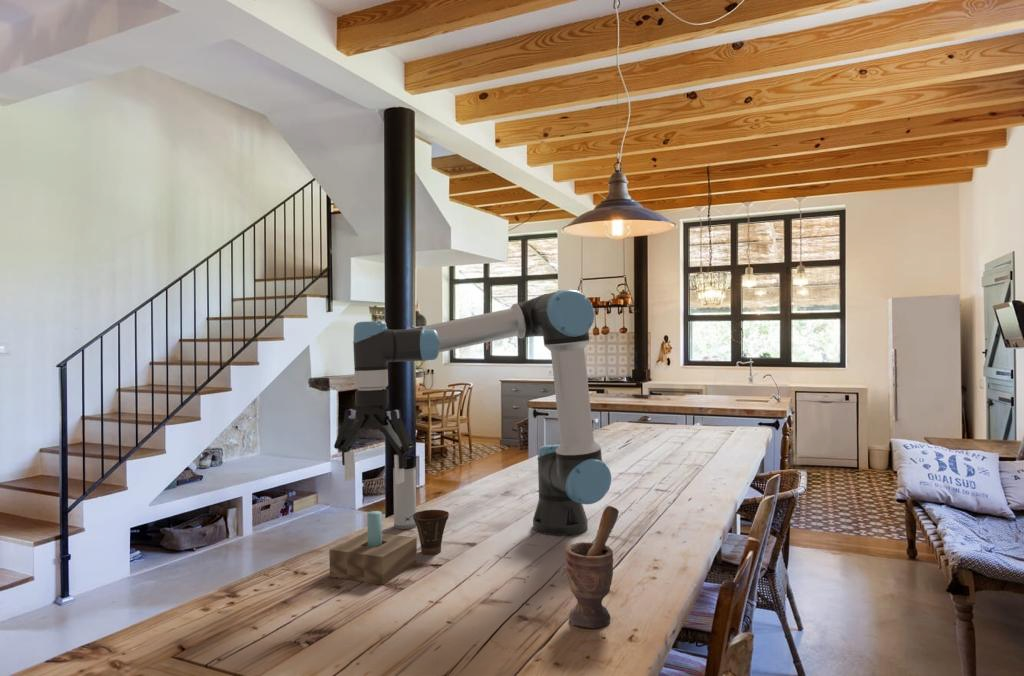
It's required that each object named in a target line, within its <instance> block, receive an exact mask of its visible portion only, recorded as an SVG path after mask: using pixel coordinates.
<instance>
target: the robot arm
mask: <svg viewBox="0 0 1024 676" xmlns="http://www.w3.org/2000/svg"><path fill="white" fill-rule="evenodd" d="M594 320H595V310H594V307H593V305H592V302H591V300H590V299H589V298H588V297H587V296H586V295H585V294H584V293H582V292H580V291H578V290H574V289H561V290H557V291H553V292H549V293H544V294H541V295H538V296H536V297H533V298H530V299H528V300H524V301H522V302H517V303H513V304H512V305H511V307H510V308H506V309H502V310H496V311H492V312H486V313H483V314H482V313H481V314H477V315H472V316H467V317H461V318H459V319H453V320H449V321H444V322H437V323H433V324H429V325H428V324H427V325H423V326H420V327H414V328H408V329H406V328H405V329H388V327H387V322H386V321H383V320H380V321H379V320H378V321H375V320H374V321H373V320H372V321H370V320H369V321H358V322H355V324H354V325H353V341H352V343H353V365H354V367H353V369H354V374H353V375H354V388H356V389H357V390H355V391H354V399H355V400H354V401H355V402H354V404H355V405H354V406H356V409H355V408H350V409H345V410H344V419H343V421H342V424H341V426H340V429H339V431H338V434H337V436H336V440H335V443H334V446H333V447H334V449H335V450H337V449H338V450H340V451H341V462H342V465H343V466H344V481H347V482H349V481H351V480H353V479H356V473H355V472H356V470H355V450H353V447H354V445H355V443H357V441H358V439H359V438H360V436H361V435H362V434H363V432H364V431H365V430H367V431H368V430H374V431H375V430H376V431H377V430H379V432H380V433H382V434H383V436H384V437H385V438H386V440H387V442H389V444H390V445H391V446H392V448H393V449H394V451H395V452H396V454H394V455H393V458H394V459H393V461H394V463H395V484H400V483H402V482H405V481H404V468H406V467H407V456H408V455H407V454H408V453H409V452H411V451H413V450H415V445H414V444H413V441H412V439H411V437H410V434H409V432H408V429H407V427H406V426H405V423H404V421H403V419H402V411H401V409H399V408H398V409H397V408H396V409H393V410H389V408H388V407H389V403H390V400H389V399H390V398H389V394H390V393H389V389H388V388H386V387H388V386H389V372H388V371H389V369H388V368H389V366H388V363H390V362H391V363H394V362H395V363H396V362H421V361H422V362H426V361H435V360H436V359H438V357H439V353H443V352H448V351H452V350H453V351H454V350H458V349H462V348H466V347H471V346H477V345H481V344H485V343H489V342H495V341H499V340H504V339H508V338H509V339H510V338H513V337H517V338H519V339H525V338H532V337H542V338H543V345H544V347H545V348H546V349H548V350H549V351H550V356H551V364H552V365H551V366H552V373H553V374H552V375H553V376H552V377H553V384H554V395H555V401H556V412H557V422H558V430H559V438H560V439H559V440H560V443H559V444H558V443H557V444H546V445H545V444H544V445H542V446H540V447H539V448H538V450H537V451H538V452H537V453H538V454H537V469H538V471H537V472H538V473H537V475H538V480H537V481H538V502H537V505H536V508H535V511H534V516H533V519H532V529H534V530H535V531H536V532H538V533H540V534H545V535H550V536H551V535H552V536H572V535H577V534H581V533H584V532H585V531H587V530H588V526H589V524H588V518H587V514H586V511H585V508H584V505H593V504H595V503H598V502H600V501H601V500H603V498H604V497H605V496H606V495H607V493H608V492H609V490H610V487H611V484H612V473H611V470H610V468H609V467H608V465H607V464H606V463H605V462H604V461H603V458H602V457H603V456H602V447H601V445H600V444H598V442H596V441H595V439H594V438H595V436H594V429H593V419H592V409H591V401H590V399H591V398H590V392H589V382H588V381H589V380H588V372H587V362H586V353H585V352H586V351H585V348H586V347H587V345H588V343H589V342H590V333H589V331H590V330H591V327H592V326H593V323H594ZM355 419H357V420H358V421H357V422H356V424H355V425H354V422H355ZM388 419H389V420H390V421H391V422H389V420H388ZM391 423H392V424H391ZM353 425H354V427H353ZM392 426H393V427H392ZM352 427H353V429H352ZM351 430H352V431H351Z"/></svg>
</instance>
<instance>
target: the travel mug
mask: <svg viewBox="0 0 1024 676" xmlns="http://www.w3.org/2000/svg"><path fill="white" fill-rule="evenodd" d="M417 456H418V455H415V454H413V455H407V467H406V468H404V481H405V482H402V483H400V484H395V463H394V460H393V463H392V464H393V468H392V470H393V471H392V473H393V474H392V476H393V477H392V478H393V485H392V486H393V527H394V528H395V529H397V530H410V529H413V528H415V527H417V526H416V524H415V521H414V519H413V514H415V513H416V512H417V480H416V479H417V471H416V470H417V469H416V468H417V467H416V459H417V458H418V457H417Z"/></svg>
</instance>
